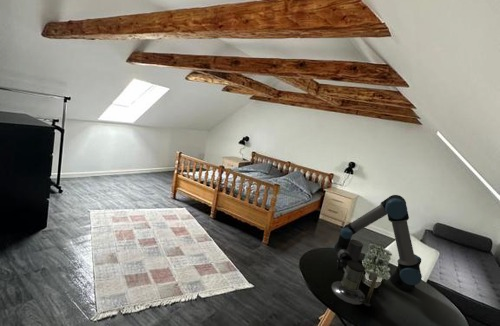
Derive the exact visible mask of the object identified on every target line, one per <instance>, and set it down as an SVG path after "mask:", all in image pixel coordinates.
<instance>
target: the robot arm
mask: <svg viewBox="0 0 500 326" xmlns="http://www.w3.org/2000/svg"><path fill="white" fill-rule="evenodd" d="M385 216H387V219H388V222H391V225H392V231H393V235H394V239H395V244H396V248H397V253H398V259H397V267H396V269H395V271H394V272H393V273H392V274H391V275H390V278H389V281H390V283H391V284H392V285H393V286H394V287H396V288H398V289H399V290H402V291H404V292H408V293H412V292H414V290H415V287H416V285H418V284H420V283H421V282H422V277H423V276H422V273H421V266H420V265H421V263H422V258H421V257H420V256H418V255H417V254H415V253H414V247H413V243H412V238H411V235H410V231H409V225H408V220H409V219H410V217H409V211H408V206H407V202H406V199H405V198H404V197H403V196H401V195H398V194H392V195H390V196H389V197H387V198H385V199H384V200H383V201H381V202H380V204H379V205H378V206H376V207H374V208H373V209H371V210H369V211H368V212H366V213H365V214H363V215H361V216H360V217H358V218H356V219H355V220H353V221H352V222H350V223H348V224H345V225H344V226H343V227H342V228H341V229H340V230H341V231H340V232H339V237H338V240H337V241H336V242H335V243H334V245H333V248H334V252H335V253H336V256H337V257H338V258H337V260H336V263H337V265H336V266H337V267H336V270H337V271H339V273H341V274H342V275H344V276H345V278H346V279H347V276H348V274H347V272H346V270H345V269H346V265H347V262H348V261H349V260H352V258H351V256H350V254H349V252H348V251H347V249H348V246H349V243H350V240H352V237H353V236H354V235H355V234H357V233H358V232H359V231H362V230H363V229H365V228H367V227H368V226H370V225H371V224H373V223H376V222H377V221H378V220H380V219H381V218H383V217H385ZM366 273H367V271H366V270H365V271H364V273H363V276H362V279H361V282H362V283H365V282H366V279H367V278H366V275H367V274H366Z"/></svg>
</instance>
